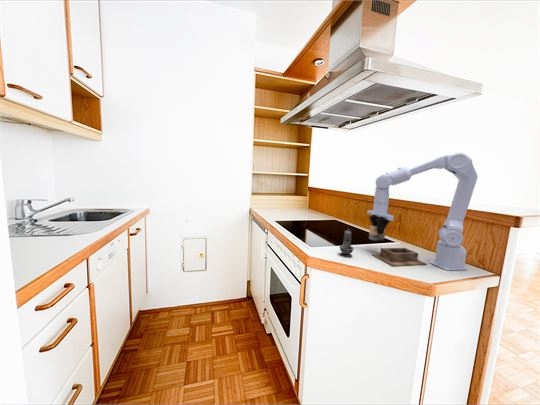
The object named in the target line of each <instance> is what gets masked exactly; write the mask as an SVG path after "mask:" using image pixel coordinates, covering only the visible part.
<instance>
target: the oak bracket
mask: <svg viewBox="0 0 540 405" xmlns="http://www.w3.org/2000/svg"><path fill="white" fill-rule="evenodd" d="M377 228H378V226H372V225H370V226H369V232H368V239H369V240H371V241H385V238H386V228H387V226H386V227H385V229H384V232H383V234H378V232H377Z"/></svg>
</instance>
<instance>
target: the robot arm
mask: <svg viewBox="0 0 540 405" xmlns="http://www.w3.org/2000/svg"><path fill="white" fill-rule="evenodd" d="M433 169H435V170H436V169H439V170H442V169H444V170H446V171H448V172H450V173H452V174H453V175H454V177H455V178H456V179H457V180H458V182H457V184H456V188H455V192H454V195H453V198H452V201H451V204H450V207H449V210H448V214H447V217H446V219H445V221H444V223H443V225H442V226H441V228H439V230H438V231H437V234H438V237H439V240H438V241H437V243H436V244H437V245H436V249H435V250H436V251H435V258H434V261H433V260H432V261H431V260H430V261H428V263H429V264H431V265H434V266H436V267H438V268H441V269H442V270H445V271H462V270H464V271H465V270H467V267H465V265H466V259H467V250H466V248H465V247H464V246H463V245H462V244H463V242H464V235H463V232H464V221H465V218H466V215H467V211H468V209H469V206H470V203H471V199H472V196H473V193H474V189H475V186H476V183H477V181H478V174H477V171H476V169H475V166H474V164H473V160H472V159H471V157H469V155H467V154H465V153H463V152H454V153H452V154H447V155H443V156H439V157H435V158H433V159H431V160H428V161H426V162H424V163H421V164H418V165H415V166H413V167H410V168H407V167H401V166H400V167H397V169H396V170H393V171H390V172H386V173H385V174H381V175H379V176H378V177H377V178H376V180H375V186H376V187H375V189H374V190H375V192H374V196H373V198H374V199H373V206H372V207H373V208H372V209H371V210H370V209H368V210H367V215H370V216H369V217H368V219H369V221H370V222H371V223H370V224H371V226H378V228H377V232H378V234H383V232H384V229H385V227H386V228H387V226H388V224H389V223H390V222H391V221H394V218H395V215H392V214H390V213H388V211H389V203H390V202H389V199H390V186H397V185H400V184H402V183H405V182H408V181H410V180H411V178H412V177H413V176H415V175H418V174H420V173H423V172H427V171H430V170H433ZM385 230H386V229H385Z"/></svg>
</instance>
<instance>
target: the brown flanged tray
mask: <svg viewBox="0 0 540 405" xmlns="http://www.w3.org/2000/svg"><path fill="white" fill-rule="evenodd" d="M371 256H372V257H373V258H374V257H375V258H376V259H378V260H379V261H381V262H383V263H385V264H387V266H390V267H393V268H395V267H410V266H411V267H412V266H427V263H426V262H424V261H422V260H420V259H418V258H419V253H418V252H416V251H414V250H411V249H409V248H406V247H384V248H383V247H381V248H380V252H379V253H371Z"/></svg>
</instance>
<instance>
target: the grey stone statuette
mask: <svg viewBox="0 0 540 405" xmlns="http://www.w3.org/2000/svg"><path fill="white" fill-rule="evenodd" d="M342 239H343V242H342V245H339V246H338V247H339V250H340V253H339V256H340V257H343V258H346V259H347V258H353V255H352V253H353V251H354V249H355V248H354V247H353V246H352V245H351V244H352V231H351V230H350V228H347V229H346V230H344V234H343V237H342Z"/></svg>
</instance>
